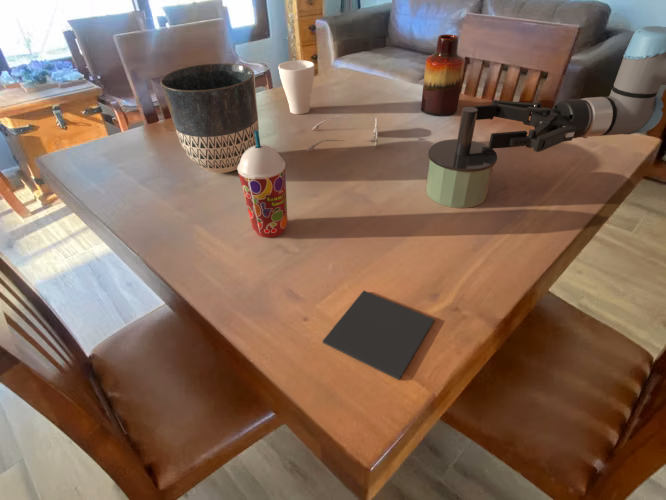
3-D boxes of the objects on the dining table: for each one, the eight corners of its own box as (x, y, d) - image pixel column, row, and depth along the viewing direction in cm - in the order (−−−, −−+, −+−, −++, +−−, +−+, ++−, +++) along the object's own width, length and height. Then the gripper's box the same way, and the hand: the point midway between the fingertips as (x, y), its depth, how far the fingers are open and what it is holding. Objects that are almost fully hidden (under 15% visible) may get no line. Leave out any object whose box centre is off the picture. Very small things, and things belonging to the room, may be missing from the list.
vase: (415, 113, 128) (423, 39, 115) (427, 101, 135) (435, 30, 123) (451, 118, 124) (462, 42, 111) (461, 106, 131) (472, 33, 119)
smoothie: (282, 245, 79) (269, 144, 66) (241, 238, 81) (221, 139, 68) (298, 220, 85) (289, 123, 73) (259, 214, 87) (244, 119, 74)
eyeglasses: (377, 153, 108) (378, 138, 105) (306, 152, 109) (305, 138, 106) (376, 128, 120) (377, 114, 117) (312, 128, 121) (311, 115, 118)
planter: (260, 145, 113) (248, 59, 100) (272, 179, 98) (259, 84, 85) (184, 155, 109) (161, 68, 96) (185, 192, 95) (158, 95, 81)
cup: (290, 119, 126) (286, 72, 118) (277, 108, 134) (272, 63, 125) (322, 113, 130) (320, 66, 122) (308, 102, 137) (305, 58, 129)
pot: (493, 186, 93) (501, 150, 88) (475, 214, 85) (483, 176, 80) (438, 173, 99) (443, 138, 93) (416, 197, 90) (420, 161, 85)
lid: (504, 153, 88) (516, 104, 82) (484, 181, 80) (496, 128, 73) (441, 139, 94) (448, 93, 88) (416, 164, 85) (422, 114, 79)
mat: (434, 321, 63) (434, 319, 63) (399, 380, 56) (399, 378, 55) (363, 292, 69) (363, 290, 68) (322, 342, 61) (322, 340, 60)
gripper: (611, 164, 77) (499, 174, 76) (541, 114, 97) (451, 121, 95) (628, 124, 73) (509, 134, 71) (551, 80, 92) (456, 86, 90)
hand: (475, 126), depth 83 cm, fingers open, 13 cm apart
